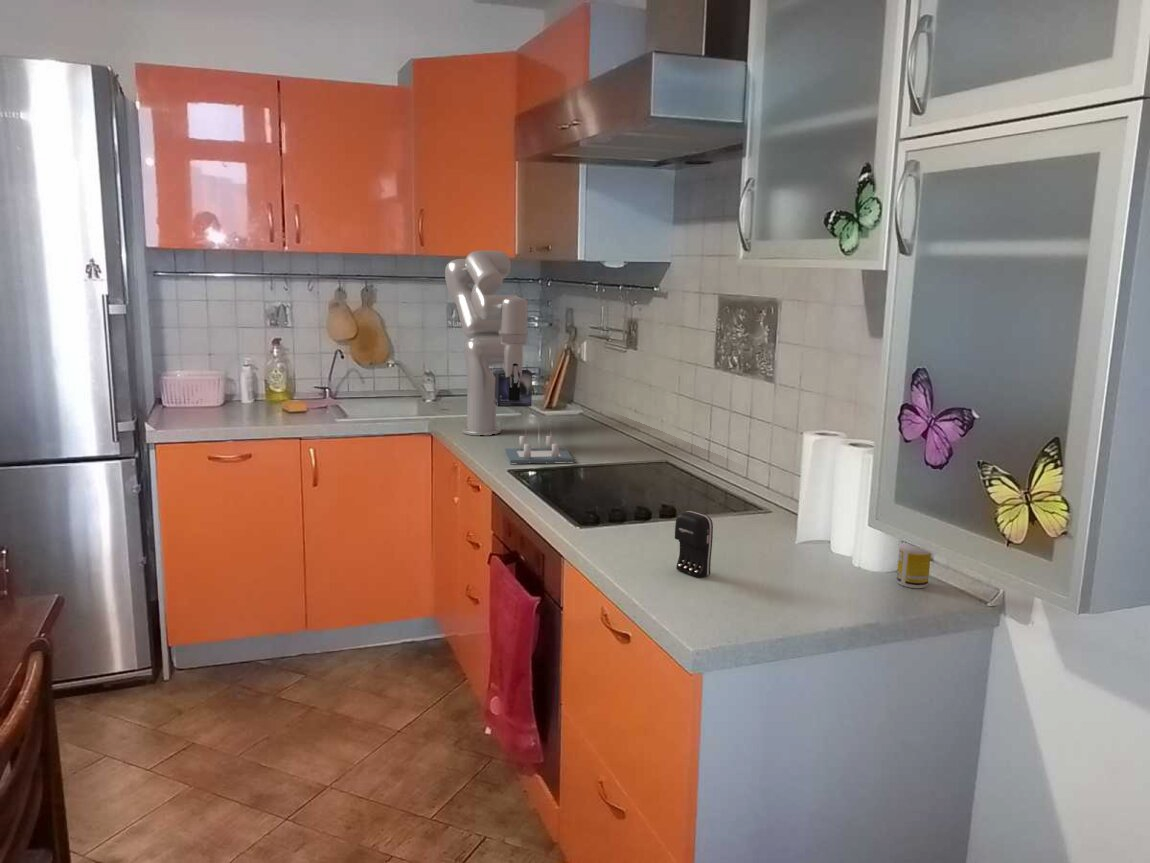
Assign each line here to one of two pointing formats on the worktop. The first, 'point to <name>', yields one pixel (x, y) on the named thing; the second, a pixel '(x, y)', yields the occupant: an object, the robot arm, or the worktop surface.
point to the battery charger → (694, 543)
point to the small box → (503, 389)
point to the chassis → (538, 453)
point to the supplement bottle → (913, 566)
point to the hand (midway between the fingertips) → (513, 397)
